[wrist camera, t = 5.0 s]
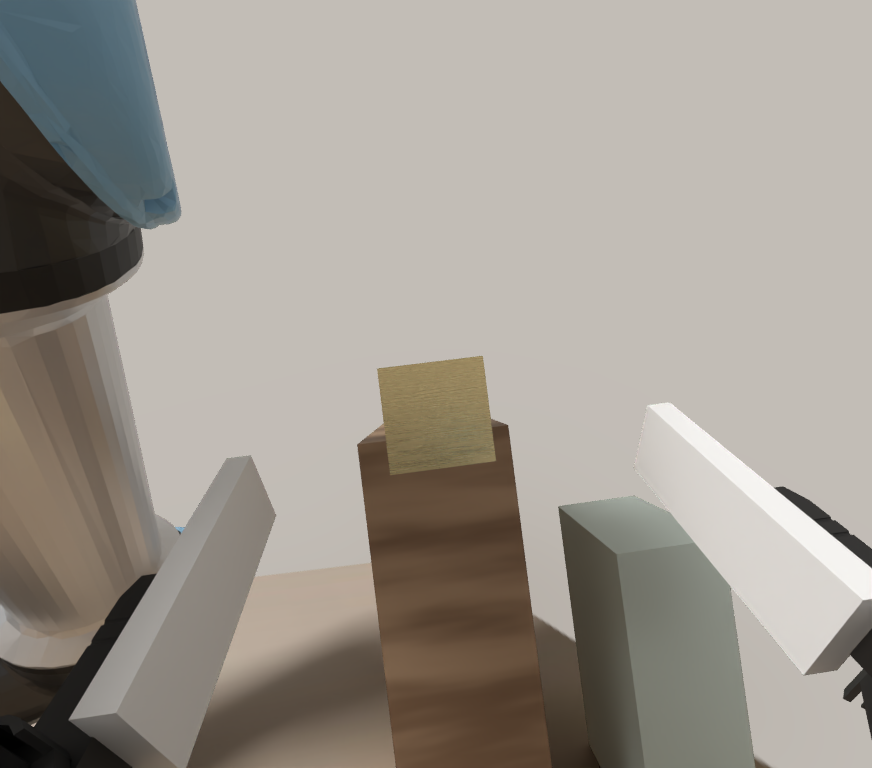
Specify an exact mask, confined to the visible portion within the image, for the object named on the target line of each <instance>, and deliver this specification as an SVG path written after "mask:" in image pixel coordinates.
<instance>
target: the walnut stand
mask: <svg viewBox="0 0 872 768" xmlns="http://www.w3.org/2000/svg"><path fill="white" fill-rule="evenodd" d="M491 425H492V433H493V441H494V449H495V457H496V461H493V462H486V463H478V464H471V465H463V466H456V467H448V468H441V469H433V470H426V471H418V472H411V473H403V474H396V475H390V469H389V461H388V453H387V445H386V436H385V428H384V424H382V425H381V426H380V427H379V428H377V429H376V430H375V431H374V432H372V433H371V434H370V435H369V436H367V437H366V438H365V439H364V440H362V441H361V442H360V443H359V444H358V445H357V446H358V454H359V462H360V470H361V479H362V487H363V495H364V504H365V512H366V520H367V529H368V537H369V545H370V553H371V562H372V571H373V579H374V587H375V596H376V604H377V612H378V621H379V629H380V637H381V646H382V654H383V662H384V671H385V679H386V687H387V696H388V704H389V712H390V721H391V729H392V738H393V746H394V754H395V763H396V768H552V764H551V756H550V748H549V741H548V733H547V725H546V717H545V709H544V702H543V694H542V686H541V678H540V670H539V663H538V655H537V647H536V639H535V631H534V624H533V616H532V608H531V600H530V593H529V585H528V577H527V570H526V561H525V553H524V546H523V538H522V531H521V523H520V515H519V507H518V499H517V492H516V483H515V476H514V468H513V460H512V453H511V445H510V437H509V429H508V425H506V424H504V423H501V422H498V421H495V420H493V419H491Z"/></svg>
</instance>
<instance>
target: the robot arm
mask: <svg viewBox="0 0 872 768" xmlns="http://www.w3.org/2000/svg"><path fill="white" fill-rule="evenodd" d="M180 216H181V207H180V201H179V197H178V192H177V187H176V183H175V178H174V173H173V169H172V164H171V160H170V155H169V152H168V147H167V142H166V138H165V133H164V128H163V123H162V118H161V114H160V110H159V105H158V101H157V96H156V91H155V86H154V82H153V77H152V73H151V69H150V64H149V59H148V55H147V50H146V46H145V41H144V36H143V32H142V27H141V23H140V18H139V14H138V9H137V5H136V0H0V768H186V767H187V764H188V761H189V758H190V756H191V753H192V750H193V747H194V744H195V742H196V739H197V736H198V733H199V730H200V728H201V725H202V722H203V719H204V716H205V714H206V711H207V708H208V705H209V702H210V700H211V697H212V694H213V691H214V688H215V686H216V683H217V680H218V677H219V674H220V672H221V669H222V666H223V663H224V660H225V658H226V655H227V652H228V649H229V646H230V643H231V641H232V638H233V635H234V632H235V629H236V627H237V624H238V621H239V618H240V615H241V613H242V610H243V607H244V604H245V601H246V599H247V596H248V593H249V590H250V587H251V585H252V582H253V579H254V576H255V573H256V571H257V568H258V565H259V562H260V559H261V557H262V553H263V551H264V548H265V545H266V543H267V540H268V537H269V534H270V531H271V528H272V526H273V523H274V520H275V517H276V514H275V512H274V509H273V507H272V504H271V502H270V500H269V498H268V495H267V493H266V490H265V488H264V485H263V483H262V481H261V478H260V476H259V474H258V471H257V469H256V466H255V464H254V462H253V460H252V457H251V456H243V457H235V458H227V459H226V461H225V462H224V464H223V465H222V467H221V469H220V470H219V472H218V474H217V475H216V477H215V479H214V480H213V482H212V484H211V485H210V487H209V489H208V490H207V492H206V494H205V495H204V497H203V499H202V500H201V502H200V503H199V505H198V507H197V508H196V510H195V512H194V513H193V515H192V517H191V518H190V520H189V522H188V523H187V525H186V527H183V528H182V527H174V526H173V525H172V524H171V523H170V522H168V521H167V520H166V519H164V518H162V517H160V516H158V515H156V514H155V513H154V508H153V504H152V499H151V494H150V490H149V485H148V480H147V476H146V471H145V467H144V462H143V457H142V453H141V448H140V443H139V439H138V434H137V430H136V425H135V420H134V416H133V411H132V407H131V402H130V397H129V392H128V388H127V383H126V379H125V374H124V369H123V365H122V360H121V355H120V351H119V346H118V342H117V337H116V332H115V328H114V323H113V319H112V314H111V309H110V305H109V300H108V295H107V294H109V293H111V292H112V291H114V290H115V289H117V288H118V287H120V286H121V285H122V284H123V283H125V282H127V281H128V280H129V279H130V278H131V277H132V276H133V275H134V274H135V273H136V272H137V271H138V269H139V267H140V266H141V264H142V260H143V256H144V251H143V242H142V235H141V228H145V229H153V228H156V227H157V226H158V225H164V224H171V223H174V222H176V221H177V220H178V219H179V218H180ZM634 469H635V470H636V471H637V473H638V474H639V475H640V476H641V478H642V479H643V480H644V481H645V483H646V484H647V485H648V486H649V487H650V489H651V490H652V491H653V492H654V494H656V496H657V497H658V498H659V500H660V501H661V502H662V503H663V504H664V506H665V507H666V508H667V509H668V511H669V512H670V513H671V514H672V516H673V517H674V518H675V519H676V520H677V522H678V523H679V524H680V525H681V527H682V528H683V529H684V530H685V531H686V533H687V534H688V535H689V536H690V538H691V539H692V540H693V541H694V542H695V544H696V545H697V546H698V547H699V549H700V550H701V551H702V552H703V553H704V555H705V556H706V557H707V558H708V560H709V561H710V562H711V563H712V564H713V566H714V567H715V568H716V569H717V571H718V572H719V573H720V574H721V575H722V577H723V578H724V579H725V580H726V582H727V583H728V584H729V585H730V586H731V588H732V589H733V590H734V591H735V593H736V594H737V595H738V596H739V597H740V599H741V600H742V601H743V602H744V603H745V604H746V606H747V607H748V608H749V610H750V611H751V612H752V613H753V614H754V616H755V617H756V618H757V619H758V621H759V622H760V623H761V624H762V625H763V627H764V628H765V629H766V630H767V631H768V633H769V634H770V635H771V636H772V638H773V639H774V640H775V641H776V643H777V644H778V645H779V646H780V647H781V649H782V650H783V651H784V652H785V654H786V655H787V656H788V657H789V658H790V660H791V661H792V662H793V663H794V665H795V666H796V667H797V668H798V669H799V671H800V672H801V673H802V674H803V675H809V674H816V673H822V672H829V671H834V670H838V669H839V667H840V666H841V665H842V664H843V663H844V662H845V660H846V659H847V658H848V657H849V656H850V655H851V656H852V657H853V658H854V659H855V660H856V661H857V662H858V663H859V664H860V666H861V667H862V668H863V670H862V671H861V672H860V673H859V674H858V675H857V676H856V677H855V679H853V681H852V682H851V683H850V684H849V685H848V686H847V687H846V688H845V689H844V697H843V699H845V700H847V701H849V702H851V701H852V700H853V699H854V698H855V697H856V696H857V695H858V694H859V693H860V692H861V691H862V696H863V700H864V702H863V704H862V705H861V707H862V708H864V709H865V710H866V715H867V719H868V724H869V729H870V733H871V738H872V549H871V548H870V547H868V546H867V545H866V544H865V543H864V542H862V541H861V540H860V539H858V538H857V537H856V536H854V535H850V534H849V531H848V530H847V529H846V528H844V527H843V526H842V525H840V524H839V523H838V522H836V521H835V520H834V521H833V520H831V517H830V516H829V515H828V514H826V513H825V512H824V511H822V510H821V509H820V508H819V507H817V506H816V505H815V504H813V503H812V502H811V501H810V500H808V499H806V498H804V497H802V496H800V495H798V494H796V493H794V492H792V491H791V490H789V489H786V488H785V487H776V488H773V487H772V486H771V485H770V484H768V483H767V482H766V481H765V480H764V479H762V478H761V477H760V476H758V475H757V474H756V473H755V472H754V471H753V470H751V469H750V468H749V467H748V466H746V465H745V464H744V463H743V462H741V461H740V460H739V459H738V458H736V456H734V455H733V454H732V453H731V452H729V451H728V450H727V449H726V448H725V447H723V446H722V445H721V444H720V443H718V442H717V441H716V440H715V439H714V438H712V437H711V436H710V435H709V434H707V433H706V432H705V431H704V430H703V429H701V428H700V427H699V426H698V425H696V424H695V423H694V422H693V421H692V420H690V419H689V418H688V417H687V416H686V415H684V414H683V413H682V412H681V411H679V410H678V409H677V408H676V407H675V406H673V405H672V404H671V403H662V404H655V405H648V406H647V410H646V415H645V419H644V424H643V428H642V432H641V437H640V441H639V446H638V450H637V455H636V459H635V464H634ZM36 722H37V723H36ZM34 723H36V725H35V726H34V727H32V726H31V725H32V724H34Z"/></svg>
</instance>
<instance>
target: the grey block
mask: <svg viewBox="0 0 872 768" xmlns="http://www.w3.org/2000/svg"><path fill="white" fill-rule="evenodd" d="M558 508H559V516H560V524H561V531H562V539H563V546H564V554H565V561H566V569H567V577H568V585H569V593H570V600H571V608H572V616H573V623H574V631H575V639H576V646H577V654H578V662H579V669H580V677H581V685H582V692H583V700H584V708H585V715H586V723H587V731H588V738H589V745H590V747H591V749H592V751H593V753H594V755H595V757H596V759H597V761H598V763H599V765H600V767H601V768H755V761H754V754H753V747H752V739H751V732H750V725H749V719H748V711H747V703H746V696H745V689H744V683H743V675H742V668H741V660H740V653H739V646H738V639H737V632H736V625H735V617H734V610H733V603H732V596H731V588H730V585H729V584H728V583H727V582H726V580H725V579H724V578H723V577H722V575H721V574H720V573H719V572H718V571H717V569H716V568H715V567H714V566H713V564H712V563H711V562H710V561H709V560H708V558H707V557H706V556H705V555H704V553H703V552H702V551H701V550H700V549H699V547H698V546H697V545H696V544H695V542H694V541H693V540H692V539H691V538H690V536H689V535H688V534H687V533H686V531H685V530H684V529H683V528H682V527H681V525H680V524H679V523H678V522H677V520H676V519H675V518H674V517H673V516H672V514H671V513H669V512H667V511H665V510H663V509H661V508H659V507H657V506H655V505H653V504H650V503H648V502H646V501H644V500H642V499H640V498H638V497H636V496H628V497H621V498H614V499H607V500H600V501H593V502H585V503H579V504H571V505H564V506H559V507H558Z"/></svg>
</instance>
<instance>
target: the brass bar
mask: <svg viewBox="0 0 872 768" xmlns="http://www.w3.org/2000/svg"><path fill="white" fill-rule="evenodd" d="M377 370H378V379H379V387H380V395H381V403H382V411H383V420H384V428H385V436H386V445H387V453H388V461H389V469H390V475H396V474H403V473H411V472H418V471H426V470H433V469H441V468H448V467H456V466H463V465H471V464H478V463H486V462H493V461H496V457H495V449H494V441H493V433H492V425H491V417H490V410H489V403H488V394H487V386H486V379H485V370H484V363H483V356H479V357H470V358H462V359H453V360H445V361H436V362H428V363H420V364H412V365H404V366H396V367H388V368H379V369H377Z"/></svg>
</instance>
